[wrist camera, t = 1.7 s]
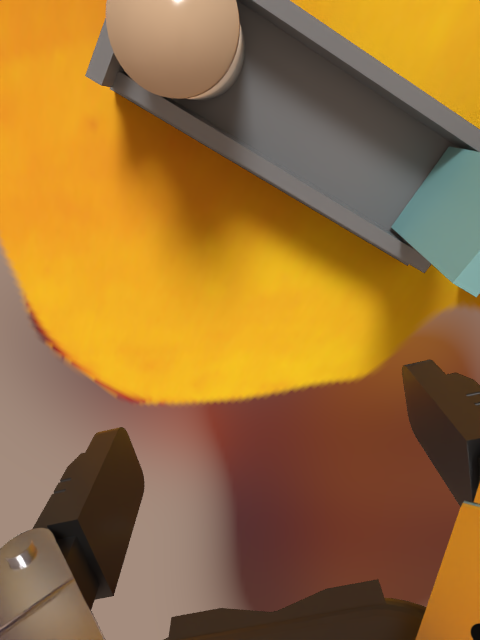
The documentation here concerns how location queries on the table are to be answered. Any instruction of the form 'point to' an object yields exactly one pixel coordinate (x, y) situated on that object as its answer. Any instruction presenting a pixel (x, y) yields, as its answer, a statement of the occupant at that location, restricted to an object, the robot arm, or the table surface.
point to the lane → (314, 121)
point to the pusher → (448, 218)
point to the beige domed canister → (178, 45)
